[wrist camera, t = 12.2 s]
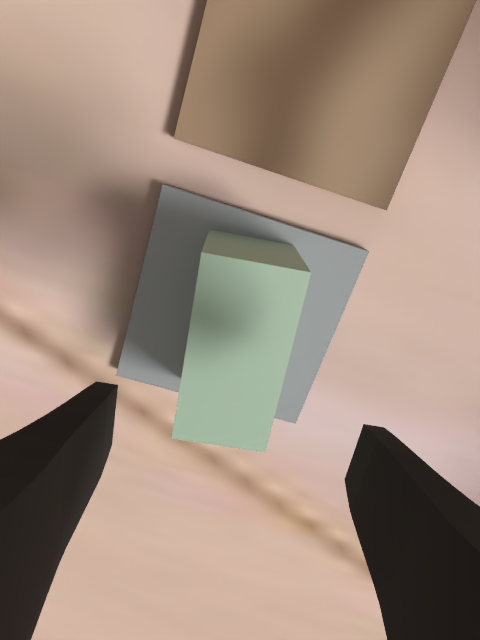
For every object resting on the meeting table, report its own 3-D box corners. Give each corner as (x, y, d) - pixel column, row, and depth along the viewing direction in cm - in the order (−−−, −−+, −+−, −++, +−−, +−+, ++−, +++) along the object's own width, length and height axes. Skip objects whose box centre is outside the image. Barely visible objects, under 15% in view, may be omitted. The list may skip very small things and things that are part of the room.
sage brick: (293, 245, 20) (311, 272, 16) (259, 392, 23) (265, 452, 18) (209, 229, 20) (201, 252, 15) (184, 380, 23) (171, 438, 18)
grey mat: (365, 249, 21) (368, 251, 20) (294, 417, 24) (295, 423, 24) (164, 183, 20) (162, 184, 19) (118, 370, 23) (116, 375, 23)
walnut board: (488, -42, 17) (497, -49, 16) (382, 208, 20) (386, 210, 20) (244, -146, 16) (245, -157, 15) (175, 138, 19) (173, 138, 19)
